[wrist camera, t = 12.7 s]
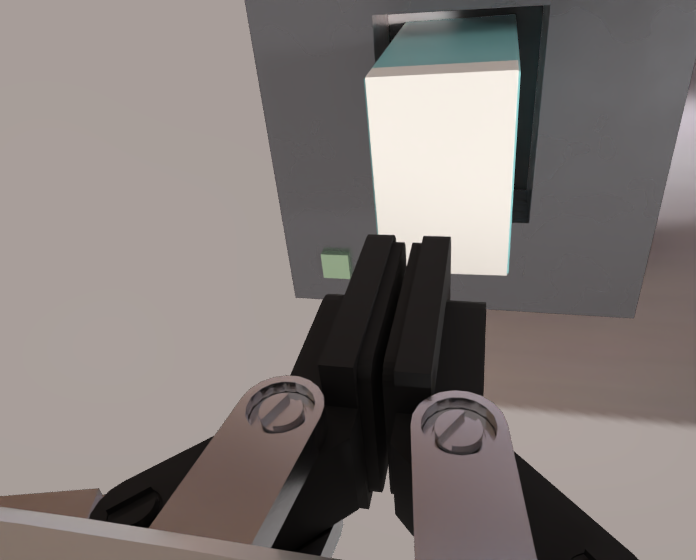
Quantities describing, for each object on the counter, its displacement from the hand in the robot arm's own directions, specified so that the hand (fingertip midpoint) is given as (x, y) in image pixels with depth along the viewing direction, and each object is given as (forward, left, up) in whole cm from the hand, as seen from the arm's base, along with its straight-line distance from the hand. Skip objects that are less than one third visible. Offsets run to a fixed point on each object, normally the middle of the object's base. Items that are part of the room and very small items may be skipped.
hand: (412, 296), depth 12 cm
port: (0, 0, -14) cm, 14 cm away
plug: (0, 0, -14) cm, 14 cm away
